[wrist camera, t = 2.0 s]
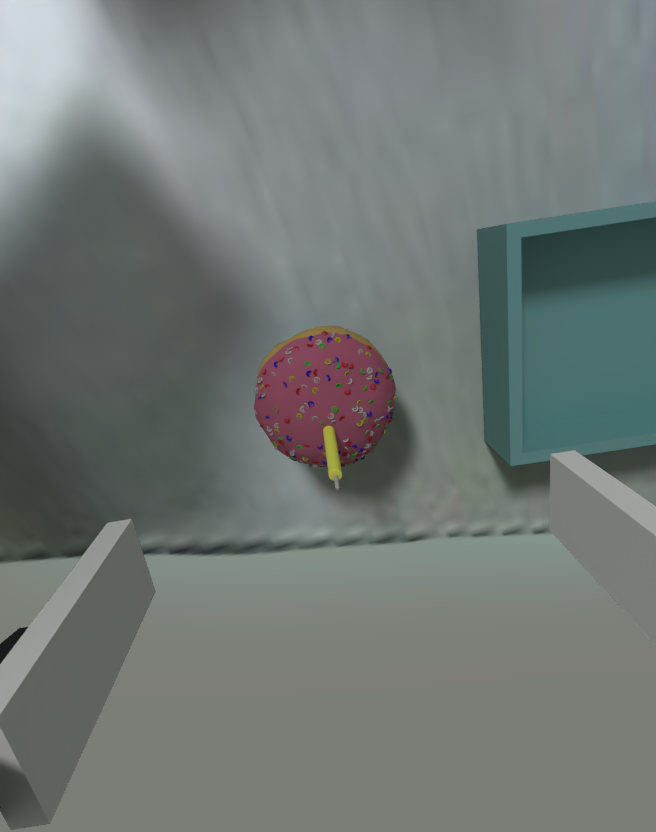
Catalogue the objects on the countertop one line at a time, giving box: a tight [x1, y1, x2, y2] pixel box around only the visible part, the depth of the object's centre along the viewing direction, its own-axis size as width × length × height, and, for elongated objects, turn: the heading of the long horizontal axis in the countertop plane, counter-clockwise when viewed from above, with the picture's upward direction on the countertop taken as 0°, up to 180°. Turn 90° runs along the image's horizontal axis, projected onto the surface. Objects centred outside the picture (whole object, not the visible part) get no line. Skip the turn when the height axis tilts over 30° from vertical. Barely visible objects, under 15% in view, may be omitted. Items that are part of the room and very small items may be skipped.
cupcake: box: [254, 326, 396, 490], centre depth 26 cm, size 9×8×12 cm
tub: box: [477, 202, 656, 466], centre depth 30 cm, size 18×15×4 cm
